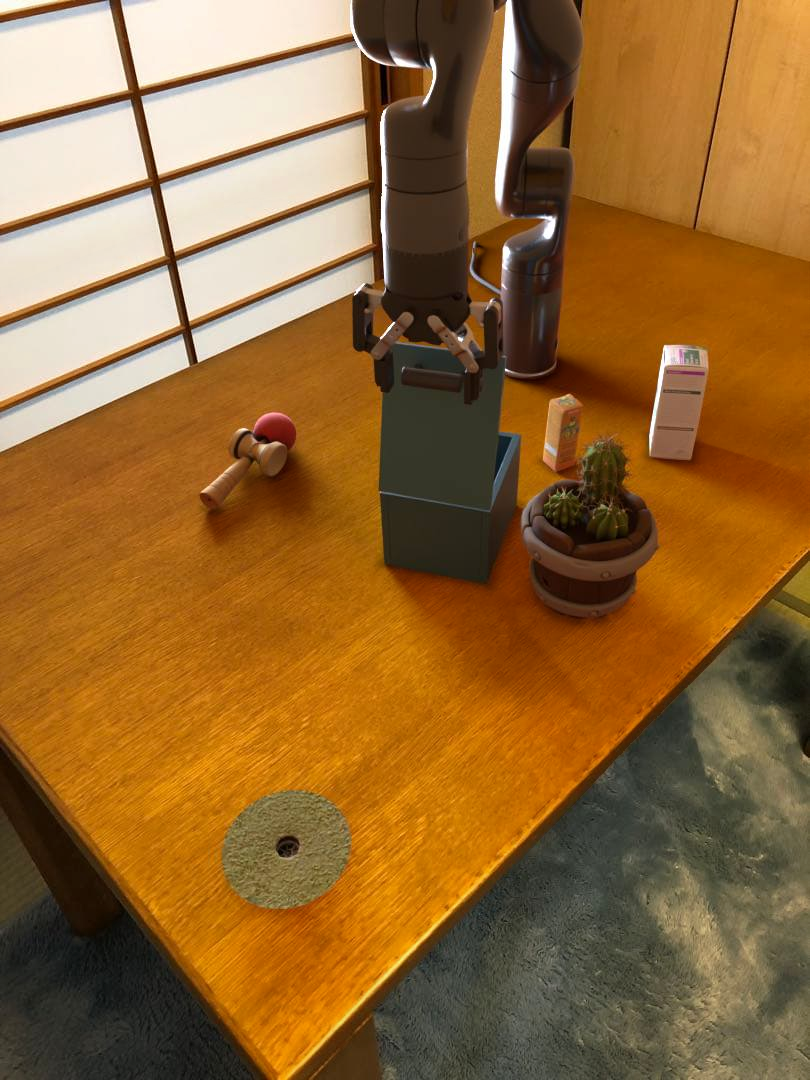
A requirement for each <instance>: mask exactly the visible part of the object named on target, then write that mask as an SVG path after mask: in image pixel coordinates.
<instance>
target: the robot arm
mask: <svg viewBox="0 0 810 1080" xmlns="http://www.w3.org/2000/svg"><path fill="white" fill-rule="evenodd" d="M504 5H505V14H504V30H503V39H502V55H501V57H502V60H501V117H500V119H501V120H500V132H499V133H500V134H499V140H498V141H499V142H498V150H497V157H496V167H495V175H494V200H495V204H496V208H497V209H498V212H499V213H500V214H501V215H502V216H503V217H506V218H509V219H517V220H519V219H520V220H521V219H522V220H523V219H525V220H527V219H529V220H530V219H531V220H532V219H533V220H535V219H538V220H541V219H542V221H541V222H540V223H538V224H537V225H535V226H534V227H532V228H530V229H527V230H525V231H522V232H519V233H517V234H515V235H512V236H510V237H509V238H508V239H507V240H506V241H505V243H504V244H503V247H502V254H501V255H502V256H501V260H502V261H501V280H500V289H499V288H497V287H496V286H494V285H493V284H491V283H490V282H488V281H486V280H485V279H483V278H482V277H481V276H480V275H478V274H477V273H476V271H475V265H476V260H477V252H476V253H475V254H474V253H473V252H472V254H471V260H470V259H469V258H470V257H469V256H470V254H469V253H470V252H469V251H470V199H469V190H468V135H469V132H468V131H469V125H470V119H471V114H472V108H473V104H474V100H475V94H476V90H477V85H478V83H479V82H478V81H479V78H480V74H481V71H482V66H483V63H484V60H485V57H486V53H487V51H488V50H487V49H488V46H489V43H490V39H491V35H492V29H493V27H494V26H493V25H494V16H495V14H496V13H497V12H499V10H500V9H501V8H502V7H503V6H504ZM349 15H350V27H351V32H352V34H353V37H354V40H355V42H356V43H357V46H358V47H359V48H360V50H361V51H362V52H363V53H364V55H366V56H367V57H368V58H369V59H370V60H372V61H374V62H376V63H378V64H381V65H384V66H389V67H390V66H391V67H399V68H410V69H420V70H431V71H433V75H432V76H433V77H432V78H433V79H432V84H431V87H430V90H429V92H428V94H424V95H423V94H422V95H417V96H410V97H405V98H402V99H398V100H396V101H395V102H392V103H390V104H389V105H388V106H387V107H386V108H385V109H384V110H383V113H382V115H381V121H380V146H381V167H382V193H381V195H382V196H381V205H380V206H381V209H380V210H381V212H380V213H381V214H380V215H381V219H380V232H381V234H382V254H383V276H384V285H385V287H384V288H385V289H384V290H379V289H374V288H373V285H372V284H370V283H368V282H366V283H365V282H364V283H363V284H361V286H360V287H359V288H358V289H357V290H356V292H355V293H354V294H353V296H352V299H351V305H352V306H351V308H352V315H351V316H352V348H353V350H354V351H356V352H358V353H362V352H365V353H367V354H369V355H370V357H371V358H372V359H373V360H372V361H373V371H374V372H373V375H374V383H375V385H376V387H379V389H380V393H382V394H383V393H389V391H390V390H391V388H392V387H393V385H394V366H393V351H390V348H391V347H392V346H393V345H394V343H395V342H398V340H399V339H400V338H401V336H403V337H404V338H406V339H407V340H408V342H407V343H426V344H429V345H431V346H438V347H439V346H440V347H441V345H442V344H444V345H445V347H446V348H448V349H449V350H450V352H451V353H452V354H453V355H454V356H457V357H458V358H459V359H460V361H461V362H462V364H463V365H464V366H465V368H466V370H465V372H464V404H467V405H472V403H473V401H474V400H477V399H478V397H479V395H480V393H481V391H482V389H483V369H485V368H488V369H495V368H496V367H497V366H498V364H499V362H500V360H501V357H502V356H507V359H506V369H505V376H508V377H511V378H513V379H517V380H538V379H542V378H545V377H548V376H550V375H551V374H553V373H554V372H555V370H556V369H557V354H558V347H559V343H560V338H559V332H560V331H559V330H560V320H561V309H562V300H563V299H562V298H563V286H564V275H565V265H566V264H565V263H566V254H567V242H568V241H567V239H568V231H569V221H570V214H571V209H572V202H573V195H574V187H575V180H576V163H575V162H576V161H575V157H574V154H573V153H572V150H570V149H569V148H567V147H558V146H556V147H555V146H554V147H553V146H552V147H547V146H546V147H543V146H542V147H538V146H537V147H530V146H531V145H532V143H533V142H534V141H535V140H536V139H537V138H538V137H539V136H541V134H542V133H543V132H544V131H545V130H546V129H547V128H548V127H550V125H552V124H553V123H554V122H555V120H556V119H557V118H558V117H559V116H560V115H561V114H563V112H564V111H565V110H566V108H568V106H569V104H570V103H571V102H572V100H573V98H574V96H575V94H576V93H577V89H578V87H579V82H580V77H581V69H582V63H583V55H584V47H585V32H584V29H583V23H582V20H581V17H580V15H579V11H578V9H577V7H576V4H575V2H574V0H351V3H350V14H349ZM473 248H474V249H476V248H477V249H478V241H476V240H475V241H474V242H473V245H472V249H473ZM469 260H470V264H469ZM469 272H470V274H471V276H472V277H473V278H474V280H476V281H477V282H478V283H480V284H482V285H483V286H485V287H486V288H488V289H490V290H491V291H493V292H494V293H496V294H498V295H499V296H500V298H499V297H492V298H491V299H490V300H489V302H487V301H473V299H472V298H471V296H470V293H469ZM379 306H381V308H382V310H383V311H384V312H385V314H386V315H387V317H389V319H390V321H391V322H392V323H391V324H390V326H389V327H387V330H386V331H385V332H384V333H383V334H382V336H381V337H379V336H377V335H375V334H374V313H375V312H376V311H377V310H378V308H379ZM470 316H472V317H474V318H475V320H476V323H477V325H478V326H479V328H481V329H483V345H484V349H482V348H481V346H480V345H479V343H478V342H477V341H476V339H475V335H474V332H473V331H472V329H471V328H470V326H469V325H468V324H467V320H468V319H469V317H470Z"/></svg>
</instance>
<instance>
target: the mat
mask: <svg viewBox="0 0 810 1080" xmlns="http://www.w3.org/2000/svg"><path fill="white" fill-rule="evenodd" d="M236 816H237V817H236V818H234V820H233V821H232V822H231V824H230V826H229V827H228V829H227V832H226V834H225V836H224V839H223V843H222V848H221V859H220V861H221V864H222V871H223V873H224V876H225V878H226V881H227V882H228V883H229V885H230V887H231V889H232V890H233V891H234V892H235V893H236V894H237V895H238V896H239V897H240V898H241V899H243V900H244V901H245V902H247V903H249V904H251V905H254V906H257V907H260V908H263V909H273V910H277V909H278V910H280V909H281V910H283V909H286V910H287V909H292V908H298V907H302V906H303V905H307V904H309V903H311V902H313V901H315V900H317V899H319V898H320V897H321V896H323V895H324V894H326V893H327V892H328V891H329V890H330V889H331V888H333V886H334V885H335V883H336V882H337V881H338V880H339V879H340V878H341V877H342V875H343V873H344V871H345V869H346V867H347V865H348V863H349V859H350V856H351V850H352V834H351V829H350V826H349V823H348V819H346V818H345V816H344V813H342V811H341V809H340V808H339V807H338V806H337V805H336V804H335V803H334V802H332V801H331V800H330V799H327V798H326V797H325V796H322V795H321V794H317V793H316V792H313V791H312V792H311V791H308V790H302V789H289V790H281V791H277V792H272V793H270V794H266V795H264V796H261V797H259V798H258V799H255V800H254V802H252V803H250V804H249V805H247V807H245V808H244V809H243V810H242V811H241V812H239V814H238V815H236Z"/></svg>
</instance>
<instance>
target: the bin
mask: <svg viewBox="0 0 810 1080" xmlns="http://www.w3.org/2000/svg"><path fill="white" fill-rule="evenodd" d="M521 447H522V434H521V433H513V432H506V431H500V430H499V436H498V446H497V455H496V465H495V474H494V484H493V493H492V503H491V509H490V510H483V509H478V508H472V507H466V506H461V505H455V504H449V503H444V502H438V501H433V500H427V499H421V498H416V497H410V496H404V495H399V494H393V493H387V492H382V491H379V501H380V502H379V503H380V517H381V533H382V549H383V563H384V565H387V566H391V567H396V568H400V569H405V570H412V571H417V572H421V573H427V574H432V575H435V576H436V575H437V576H442V577H446V578H451V579H455V580H456V579H457V580H461V581H466V582H472V583H477V584H482V585H486V586H487V585H488V583H489V580H490V578H491V575H492V572H493V569H494V567H495V564H496V562H497V559H498V557H499V555H500V551H501V548H502V545H503V543H504V540H505V538H506V534H507V532H508V529H509V527H510V524H511V521H512V519H513V516H514V513H515V510H516V508H517V505H518V493H519V479H520V478H519V477H520V463H521V462H520V461H521V449H522V448H521Z"/></svg>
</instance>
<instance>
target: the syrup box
mask: <svg viewBox="0 0 810 1080" xmlns="http://www.w3.org/2000/svg"><path fill="white" fill-rule="evenodd" d="M659 367H660V368H659V372H658V373H659V374H658V379H657V386H656V393H655V398H654V404H653V409H652V410H653V411H652V417H651V423H650V429H649V457H651V458H656V459H666V460H679V461H691V459H692V457H693V451H694V448H695V442H696V438H697V434H698V428H699V422H700V419H701V418H700V417H701V412H702V407H703V402H704V396H705V391H706V387H707V381H708V375H709V370H710V367H709V355H708V348H707V347H705V346H699V345H698V346H697V345H690V344H664V346H663V350H662V357H661V361H660V366H659Z"/></svg>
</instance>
